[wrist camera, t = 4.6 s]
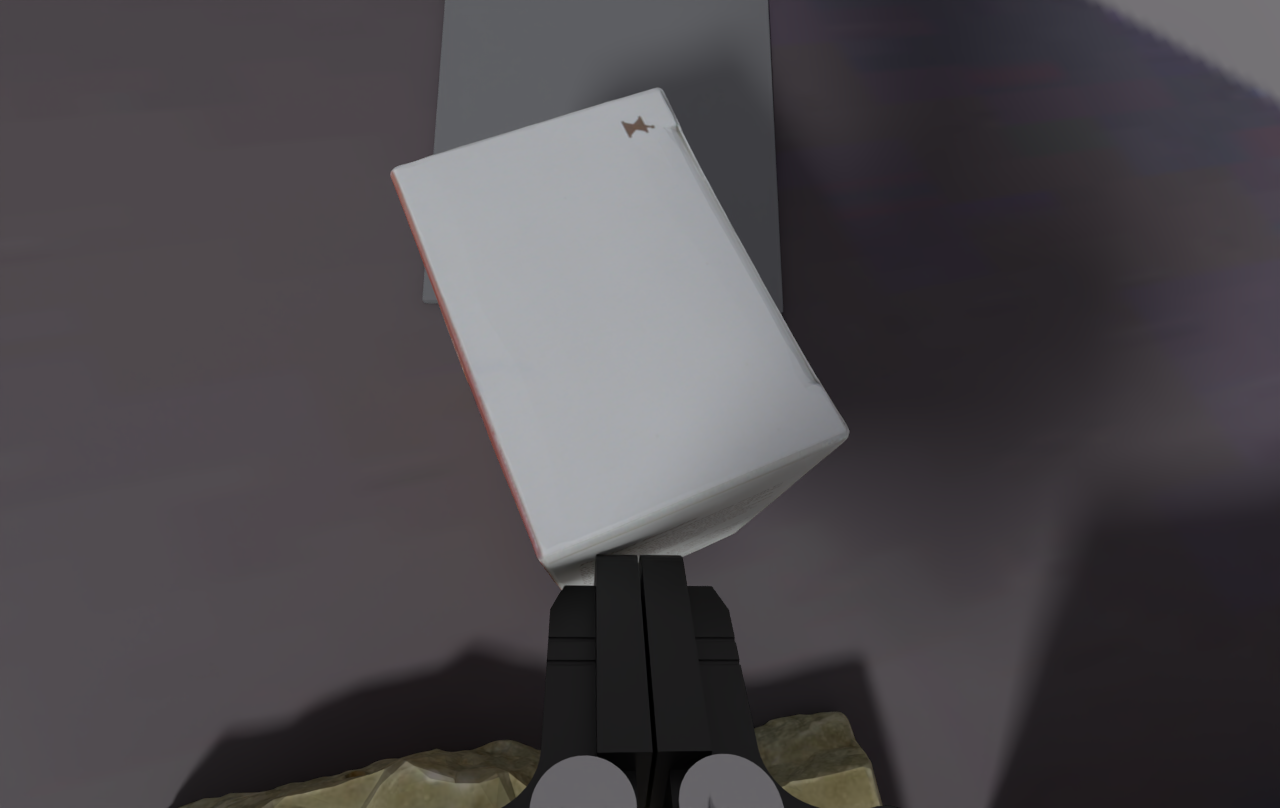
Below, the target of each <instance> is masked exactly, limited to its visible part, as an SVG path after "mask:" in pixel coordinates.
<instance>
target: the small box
mask: <svg viewBox="0 0 1280 808" xmlns="http://www.w3.org/2000/svg"><path fill="white" fill-rule="evenodd" d="M390 176H391V178H392V181H393V184H394V186H395V189H396V191H397V194H398V197H399V199H400V202H401V205H402V207H403V210H404V212H405V215H406V218H407V220H408V223H409V226H410V228H411V231H412V233H413V236H414V239H415V241H416V244H417V247H418V249H419V252H420V255H421V258H422V260H423V263H424V266H425V268H426V271H427V274H428V277H429V279H430V282H431V285H432V287H433V290H434V293H435V296H436V298H437V301H438V304H439V306H440V309H441V312H442V315H443V317H444V320H445V323H446V326H447V328H448V331H449V334H450V337H451V339H452V342H453V345H454V347H455V350H456V353H457V355H458V358H459V361H460V363H461V366H462V368H463V371H464V374H465V376H466V379H467V381H468V384H469V387H470V389H471V392H472V394H473V397H474V400H475V402H476V405H477V407H478V410H479V413H480V415H481V418H482V420H483V423H484V425H485V428H486V430H487V433H488V435H489V438H490V440H491V443H492V445H493V448H494V451H495V453H496V456H497V458H498V461H499V463H500V466H501V468H502V471H503V473H504V476H505V478H506V480H507V483H508V485H509V488H510V490H511V492H512V495H513V497H514V500H515V502H516V505H517V507H518V510H519V512H520V515H521V517H522V520H523V522H524V525H525V527H526V530H527V532H528V535H529V538H530V540H531V543H532V545H533V548H534V551H535V553H536V556H537V558H538V560H539V561H540V563H541V565H542V566H543V567H544V568H545V570H546V571H547V572H548V573H549V575H550V576H551V578H552V579H553V581H554V582H555V583H556V584H557V585H558V586H559V587H560V589H561V590H562V589H563V587H564V585H586V586H594V574H595V557H596V555H597V554H605V555H637V557H638V562H639V556H640V555H681V556H682V557H683V556H686V555H688V554H690V553H692V552H695V551H697V550H699V549H701V548H704V547H706V546H708V545H710V544H712V543H714V542H717V541H719V540H721V539H723V538H725V537H728V536H730V535H732V534H734V533H736V532H737V531H738V530H739V529H740V528H741V527H743V526H744V525H745V524H746V523H747V522H749V521H750V520H751V519H752V518H754V517H755V516H756V515H757V514H758V513H759V512H761V511H762V510H763V509H764V508H766V507H767V506H768V505H769V504H771V503H772V502H773V501H774V500H775V499H777V498H778V497H779V496H780V495H781V494H782V493H784V492H785V491H786V490H787V489H788V488H790V487H791V486H792V485H793V484H794V483H795V482H796V481H798V480H799V479H800V478H801V477H802V476H804V475H805V474H806V473H807V472H808V471H809V470H811V469H812V468H813V467H814V466H816V465H817V464H818V463H819V462H820V461H821V460H823V459H824V458H825V457H826V456H828V455H829V454H830V453H831V452H833V451H834V450H835V449H836V448H837V447H838V446H840V445H841V444H842V443H844V442H845V440H846V439H847V438H848V435H849V429H848V427H847V425H846V423H845V421H844V420H843V418H842V416H841V415H840V413H839V412H838V410H837V409H836V407H835V406H834V404H833V402H832V400H831V399H830V397H829V395H828V394H827V392H826V391H825V389H824V387H823V386H822V384H821V383H820V381H819V380H818V378H817V376H816V375H815V373H814V371H813V370H812V368H811V366H810V365H809V363H808V361H807V359H806V358H805V356H804V354H803V352H802V351H801V349H800V347H799V345H798V344H797V342H796V340H795V338H794V337H793V335H792V333H791V331H790V330H789V328H788V326H787V324H786V322H785V320H784V319H783V317H782V315H781V313H780V311H779V310H778V308H777V306H776V304H775V303H774V301H773V299H772V297H771V296H770V294H769V292H768V290H767V288H766V287H765V285H764V283H763V281H762V279H761V277H760V275H759V274H758V272H757V270H756V268H755V266H754V265H753V263H752V261H751V259H750V257H749V256H748V254H747V252H746V250H745V248H744V246H743V245H742V243H741V241H740V239H739V237H738V236H737V234H736V232H735V230H734V228H733V226H732V225H731V223H730V221H729V219H728V217H727V215H726V213H725V212H724V210H723V208H722V206H721V204H720V202H719V200H718V199H717V197H716V195H715V193H714V192H713V190H712V188H711V186H710V184H709V182H708V180H707V178H706V177H705V175H704V173H703V171H702V169H701V167H700V165H699V163H698V161H697V159H696V157H695V155H694V153H693V151H692V149H691V148H690V146H689V144H688V142H687V140H686V138H685V136H684V134H683V131H682V129H681V126H680V124H679V122H678V120H677V118H676V115H675V113H674V111H673V109H672V107H671V105H670V103H669V101H668V99H667V97H666V95H665V93H664V91H663V90H662V89H661V88H658V87H657V88H653V89H650V90H646V91H643V92H640V93H636V94H633V95H630V96H626V97H623V98H619V99H616V100H612V101H608V102H605V103H602V104H599V105H596V106H592V107H589V108H586V109H582V110H579V111H575V112H572V113H569V114H566V115H563V116H559V117H556V118H553V119H550V120H546V121H543V122H540V123H536V124H533V125H530V126H526V127H523V128H520V129H517V130H514V131H510V132H507V133H504V134H500V135H497V136H494V137H490V138H487V139H484V140H480V141H477V142H474V143H470V144H467V145H464V146H460V147H457V148H454V149H451V150H448V151H445V152H441V153H438V154H435V155H431V156H428V157H426V158H423V159H420V160H417V161H414V162H412V163H407V164H403V165H400V166H397V167H395V168H394V169H393V170H392V171H391V175H390Z"/></svg>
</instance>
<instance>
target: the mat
mask: <svg viewBox="0 0 1280 808" xmlns="http://www.w3.org/2000/svg"><path fill="white" fill-rule="evenodd" d="M657 87H658V88H661V89H662V90H663V91H664V93H665V95H666V97H667V99H668V101H669V103H670V105H671V107H672V109H673V111H674V113H675V115H676V118H677V120H678V122H679V124H680V126H681V129H682V131H683V134H684V136H685V138H686V140H687V142H688V144H689V146H690V148H691V149H692V151H693V153H694V155H695V157H696V159H697V161H698V163H699V165H700V167H701V169H702V171H703V173H704V175H705V177H706V178H707V180H708V182H709V184H710V186H711V188H712V190H713V192H714V193H715V195H716V197H717V199H718V200H719V202H720V204H721V206H722V208H723V210H724V212H725V213H726V215H727V217H728V219H729V221H730V223H731V225H732V226H733V228H734V230H735V232H736V234H737V236H738V237H739V239H740V241H741V243H742V245H743V246H744V248H745V250H746V252H747V254H748V256H749V257H750V259H751V261H752V263H753V265H754V266H755V268H756V270H757V272H758V274H759V275H760V277H761V279H762V281H763V283H764V285H765V287H766V288H767V290H768V292H769V294H770V296H771V297H772V299H773V301H774V303H775V304H776V306H777V308H778V310H779V311H780V313H781V314H782V313H783V296H782V275H781V255H780V235H779V214H778V194H777V174H776V153H775V133H774V112H773V92H772V72H771V51H770V31H769V11H768V0H445V10H444V23H443V36H442V49H441V62H440V75H439V89H438V102H437V115H436V128H435V141H434V154H433V155H435V154H438V153H441V152H445V151H448V150H451V149H454V148H457V147H460V146H464V145H467V144H470V143H474V142H477V141H480V140H484V139H487V138H490V137H494V136H497V135H500V134H504V133H507V132H510V131H514V130H517V129H520V128H523V127H526V126H530V125H533V124H536V123H540V122H543V121H546V120H550V119H553V118H556V117H559V116H563V115H566V114H569V113H572V112H575V111H579V110H582V109H586V108H589V107H592V106H596V105H599V104H602V103H605V102H608V101H612V100H616V99H619V98H623V97H626V96H630V95H633V94H636V93H640V92H643V91H646V90H650V89H653V88H657ZM422 300H423V301H424V303H438V301H437V298H436V296H435V293H434V290H433V287H432V285H431V282H430V279H429V277H428V274H427V271H426V268H425V273H424V286H423V299H422Z"/></svg>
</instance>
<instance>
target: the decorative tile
mask: <svg viewBox="0 0 1280 808" xmlns="http://www.w3.org/2000/svg"><path fill="white" fill-rule="evenodd" d="M754 731H755V735H756V740H757V745H758V749H759V752H760V756H761V758H762V761H763V763H764V765H765V767H766V768H767V770H768V772H769V773H770V775H771V776H772V777H773V778H774V780H775V781H776V782H777V783H778V784H779V785H780V786H781V787H782V788H783V789H784V790H786V791H787V792H788V793H790V794H791V795H792V796H794V797H796V798H797V799H799V800H801V801H803V802H805V803H808V804H810V805H813V806H816V807H819V808H872V807H875V806H883V805H882V801H881V797H880V794H879V790H878V786H877V782H876V778H875V775H874V771H873V767H872V763H871V761H870V760H869V758H868V756H867V755H866V753H865V752H864V751H863V749H862V748H861V747H860V746H859V744H858V743H857V742H856V740H855V737H854V734H853V731H852V729H851V726H850V723H849V721H848V719H847V718H846V716H845V715H844V714H843V713H841V712H822V713H816V714H812V715H804V714H798V715H794V716H788V717H782V718H777V719H774V720H770V721H768V722H767V723H766V724H765V725H763V726H760V727H757V728H754ZM540 753H541V750H536V749H534V748H532V747H530V746H527V745H525V744H522V743H519V742H517V741H512V740H497V741H494V742H490V743H488V744H486V745H484V746H481V747H479V748H476V749H473V750H463V751H457V752H447V751H443V750H440V749H434V750H431V751H426V752H420V753H416V754H412V755H408V756H405V757H402V758H399V759H396V758H392V759H383V760H380V761H377V762H374V763H372V764H370V765H369V766H366V767H364V768H361V769H356V770H349V771H345V772H343V773H341V774H339V775H334V776H330V777H320V778H316V779H312V780H309V781H306V782H298V783H289V784H286V785H282V786H279V787H277V788H275V789H273V790H268V791H263V792H253V793H229V794H227V795H225V796H222V797H220V798H204V799H201V800H198V801H196V802H193V803H190V804H187V805H184V806H182V807H179V808H502V807H503V806H505V805H506V804H508V803H510V802H511V801H512V800H514V799H515V798H516V797H517V796H518V795H519V794H520V793H521V792H522V791H523V790H524V789H525V788H526V787H527V785H528V784H529V782H530V781H531V779H532V778H533V776H534V774H535V771H536V769H537V766H538V763H539V760H540Z"/></svg>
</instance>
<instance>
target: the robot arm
mask: <svg viewBox="0 0 1280 808" xmlns="http://www.w3.org/2000/svg"><path fill="white" fill-rule="evenodd" d="M734 638H735V637H734V632H733V627H732V623H731V618H730V613H729V610H728V608H727V607H726V605H725V604H724V603H723V601H722V600H721V598H720V597H719V596H718V594H717V593H716V591H715V590H714V589H713V587H712V586H687V582H686V575H685V569H684V562H683V558H682V556H681V555H640V556H639V562H638V557H637V555H605V554H597V555H596V557H595V574H594V586H586V585H564V587H563V589H562V590H561V592H560V594H559V595H558V597H557V599H556V601H555V602H554V604H553V606H552V607H551V609H550V623H549V639H548V653H547V667H546V682H545V697H544V712H543V726H542V741H541V753H540V760H539V763H538V766H537V769H536V771H535V774H534V776H533V778H532V779H531V781H530V782H529V784H528V785H527V787H526V788H525V789H524V790H523V791H522V792H521V793H520V794H519V795H518V796H517V797H516V798H515V799H514V800H512V801H511V802H510V803H508V804H506V805H505V806H503V807H502V808H819V807H816V806H813V805H810V804H808V803H805V802H803V801H801V800H799V799H797V798H796V797H794V796H792V795H791V794H790V793H788V792H787V791H786V790H784V789H783V788H782V787H781V786H780V785H779V784H778V783H777V782H776V781H775V780H774V778H773V777H772V776H771V775H770V773H769V772H768V770H767V768H766V767H765V765H764V763H763V761H762V758H761V756H760V752H759V749H758V745H757V740H756V735H755V731H754V726H753V721H752V717H751V712H750V707H749V703H748V698H747V693H746V688H745V684H744V679H743V674H742V670H741V665H739V656H738V651H737V646H736V643H735V641H734ZM872 808H898V807H895V806H886V805H885V806H875V807H872Z"/></svg>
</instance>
